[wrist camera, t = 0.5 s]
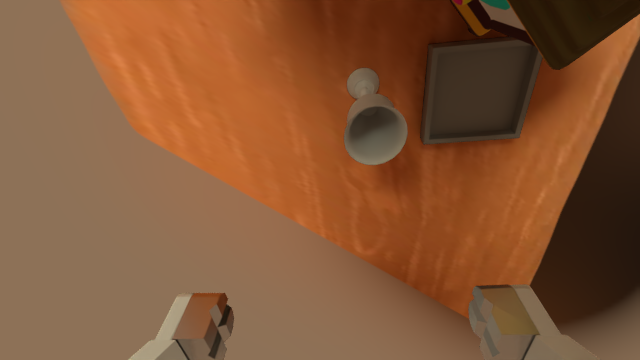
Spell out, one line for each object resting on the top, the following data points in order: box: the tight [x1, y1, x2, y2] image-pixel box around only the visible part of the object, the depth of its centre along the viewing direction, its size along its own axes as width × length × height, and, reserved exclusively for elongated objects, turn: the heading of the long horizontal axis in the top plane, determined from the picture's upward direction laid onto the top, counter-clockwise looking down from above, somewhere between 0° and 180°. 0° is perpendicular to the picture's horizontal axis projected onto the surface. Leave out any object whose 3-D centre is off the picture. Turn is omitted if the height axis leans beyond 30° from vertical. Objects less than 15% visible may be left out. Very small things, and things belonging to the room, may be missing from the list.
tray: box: [420, 36, 542, 144], centre depth 47 cm, size 15×15×2 cm
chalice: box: [344, 68, 408, 165], centre depth 41 cm, size 7×7×18 cm
